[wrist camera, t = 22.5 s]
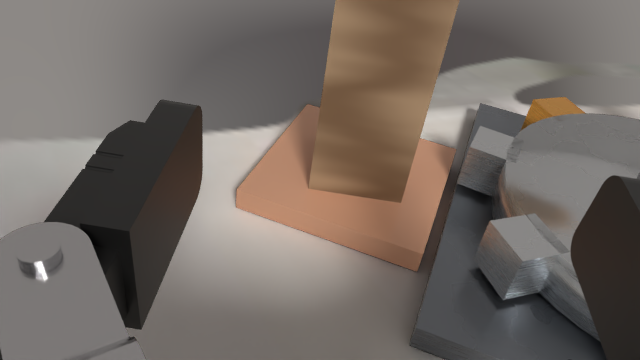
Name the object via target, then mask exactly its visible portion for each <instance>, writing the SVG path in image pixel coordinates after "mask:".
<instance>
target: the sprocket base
mask: <svg viewBox="0 0 640 360" xmlns="http://www.w3.org/2000/svg"><path fill="white" fill-rule="evenodd" d="M525 119H526V116H523V115H520V114H516V113H513V112H509V111H506V110H502V109H499V108H495V107H492V106H488V105H485V104H481V103H480V106H479V109H478V112H477V115H476V117H475V121H474V124H473V128H472V131H471V134H470V138H469V141H468V145H467V148H466V152H465V155H464V159H463V162H462V165H461V169H460V172H459V175H460V173H461V170H462V167H463V164H464V161H465V159H466V156H467V153H468V150H469V148H470V145H471V143H472V141H473V139H474V137H475V135H476V133H477V131H478V129H479V127H480V126H482V127H485V128H488V129H491V130H494V131H497V132H500V133H503V134H506V135H508V136H511V137H514V138H515V137H516V136H517V135H518V134H519V132H520V130H521V128H522V126H523V123H524V121H525ZM458 178H459V176H458ZM457 181H458V179H457ZM491 220H493V216H492V211H491V196H489V195H487V194H484V193H481V192H479V191H476V190H473V189H471V188H468V187H465V186H463V185H460V184H458V183H456V186H455V190H454V193H453V196H452V200H451V203H450V207H449V210H448V214H447V217H446V221H445V224H444V227H443V231H442V234H441V238H440V241H439V245H438V248H437V252H436V255H435V258H434V262H433V265H432V269H431V272H430V276H429V279H428V283H427V286H426V289H425V293H424V296H423V300H422V303H421V307H420V310H419V314H418V317H417V320H416V324H415V327H414V331H413V334H412V338H411V341H410V346H413V347H415V348H418V349H420V350H423V351H425V352H428V353H431V354H433V355H436V356H438V357H441V358H444V359H446V360H607V358H606V355H605V353H604V350H603V347H602V344H601V342H600V341H599V340H597V339H596V338H594V337H593V336H591V335H590V334H588V333H587V332H585V331H584V330H583V329H581V328H580V327H578V326H577V325H576V324H575V323H573V322H572V321H571V320H570V319H568V318H567V317H566V316H565V315H563V314H562V313H561V312H560V311H558V310H557V309H556V308H555V307H554V306H553V305H552V304H551V303H550V302H549V301H548V300H547V299H545V298H544V297H543V296H542V295H541V294H540V293H539V292H537V293H533V294H528V295H524V296H519V297H515V298H510V299H505V300H502V298H501V297H500V296H499V294H498V293H497V291H496V290H495V289H494V287H493V286H492V284H491V283H490V282H489V280H488V279H487V278H486V276H485V275H484V273H483V272H482V271H481V269H480V268H479V266H478V265H477V264H476V262H475V261H474V260H473V258H474V256H475V254H476V252H477V249H478V247H479V245H480V242H481V240H482V238H483V235H484V233H485V231H486V228H487V226H488V224H489V222H490V221H491Z"/></svg>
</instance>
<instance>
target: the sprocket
mask: <svg viewBox="0 0 640 360" xmlns="http://www.w3.org/2000/svg"><path fill="white" fill-rule="evenodd" d="M613 175H616V176H623V177H629V178H635V179H640V120H638V119H633V118H627V117H621V116H614V115H605V114H587V113H585V112H583V111H582V110H581V109H580V108H578V107H577V106H576V105H575V104H573V103H572V102H571V101H569V100H568V99H567V98H566V97H559V98H546V99H534V100H533V102H532V105H531V107H530V109H529V111H528V114H527V116H526V119H525V121H524V123H523V126H522V128H521V130H520V132H519V134H518V135H517V136H516V137H515V138H514V137H511V136H508V135H506V134H503V133H500V132H497V131H494V130H491V129H488V128H485V127H482V126H480V127H479V129H478V131H477V133H476V135H475V137H474V139H473V141H472V143H471V145H470V148H469V150H468V153H467V156H466V159H465V161H464V164H463V167H462V170H461V173H460V175H459V178H458V181H457V183H458V184H460V185H463V186H465V187H468V188H471V189H473V190H476V191H479V192H481V193H484V194H487V195H489V196H491V211H492V216H493V220H491V221H490V222H489V224H488V226H487V228H486V231H485V233H484V235H483V238H482V240H481V242H480V245H479V247H478V249H477V252H476V254H475V256H474V258H473V260H474V261H475V262H476V264H477V265H478V266H479V268H480V269H481V271H482V272H483V273H484V275H485V276H486V278H487V279H488V280H489V282H490V283H491V284H492V286H493V287H494V289H495V290H496V291H497V293H498V294H499V296H500V297H501V298H502V300H505V299H510V298H515V297H519V296H524V295H528V294H533V293H537V292H539V293H540V294H541V295H542V296H543V297H544V298H545V299H547V300H548V301H549V302H550V303H551V304H552V305H553V306H554V307H555V308H556V309H557V310H558V311H560V312H561V313H562V314H563V315H565V316H566V317H567V318H568V319H570V320H571V321H572V322H573V323H575V324H576V325H577V326H578V327H580V328H581V329H583V330H584V331H585V332H587V333H588V334H590V335H591V336H593V337H594V338H596V339H597V340H599V341H600V339H599V336H598V333H597V330H596V328H595V325H594V322H593V319H592V317H591V314H590V311H589V308H588V306H587V303H586V300H585V297H584V294H583V292H582V289H581V286H580V283H579V281H578V278H577V275H576V272H575V270H574V267H573V264H572V261H571V253H570V250H571V242H572V238H573V235H574V232H575V230H576V228H577V227H578V225H579V223H580V222H581V220H582V218H583V217H584V215H585V213H586V211H587V210H588V208H589V206H590V205H591V203H592V201H593V200H594V198H595V196H596V194H597V193H598V191H599V189H600V188H601V186H602V184H603V183H604V181H605V180H606V179H607V178H609V177H610V176H613ZM600 342H601V341H600Z"/></svg>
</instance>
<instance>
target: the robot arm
mask: <svg viewBox="0 0 640 360" xmlns="http://www.w3.org/2000/svg"><path fill="white" fill-rule="evenodd" d="M201 180H202V110H201V107H200V106H197V105H191V104H185V103H179V102H173V101H167V100H160V101H159V103H158V104H157V105H156V107H155V108H154V110H153V111H152V113H151V114H150V116H149V118H148V119H147V121H146V122H145V123H143V122H137V121H131V120H130V121H128V122H127V123H125V124H123V125H122V126H120V127H119V128H117V129H115V130H114V131H112V132H110V133H109V134H108V135H107V136H106V138H105V139H104V140H103V142H102V143H101V144H100V146H99V147H98V149H97V150H96V154H93V155H92V157H91V158H90V160H89V161H88V162H87V164H86V167H85V169H82V171H81V172H80V173H79V175H78V176H77V177H76V179H75V180H74V182H73V183H72V184H71V186H70V187H69V188H68V190H67V191H66V192H65V194H64V195H63V197H62V198H61V199H60V201H59V202H58V203H57V205H56V206H55V208H54V209H53V210H52V212H51V213H50V214H49V216H48V217H47V219H46V220H45V221H44V222H43V223H36V224H31V225H28V226H25V227H22V228H19V229H17V230H15V231H13V232H11V233H9V234H7V235H6V236H4V237H3V238H2V239H0V360H146V359H145V356H144V354H143V352H142V349H141V347H140V345H139V343H138V341H137V340H136V338H135V337H131V338H130V337H129V335H128V333H127V330H126V328H125V327H128V328H134V329H140V330H141V329H142V327H143V325H144V322H145V320H146V317H147V315H148V313H149V310H150V308H151V306H152V303H153V301H154V299H155V296H156V294H157V292H158V289H159V287H160V285H161V282H162V280H163V277H164V275H165V273H166V270H167V268H168V266H169V263H170V261H171V259H172V256H173V254H174V252H175V249H176V247H177V245H178V242H179V240H180V237H181V235H182V233H183V230H184V228H185V226H186V223H187V221H188V219H189V216H190V214H191V212H192V209H193V207H194V205H195V202H196V200H197V197H198V194H199V190H200V185H201ZM570 253H571V261H572V264H573V267H574V270H575V272H576V275H577V278H578V281H579V283H580V286H581V289H582V292H583V294H584V297H585V300H586V303H587V306H588V308H589V311H590V314H591V317H592V319H593V322H594V325H595V328H596V330H597V333H598V336H599V339H600V341H601V344H602V347H603V350H604V353H605V355H606V358H607V360H640V179H635V178H629V177H623V176H616V175H613V176H610V177H609V178H607V179H606V180H605V181H604V183H603V184H602V186H601V188H600V189H599V191H598V193H597V194H596V196H595V198H594V200H593V201H592V203H591V205H590V206H589V208H588V210H587V211H586V213H585V215H584V217H583V218H582V220H581V222H580V223H579V225H578V227H577V228H576V230H575V232H574V235H573V238H572V242H571V250H570Z"/></svg>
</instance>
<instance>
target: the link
mask: <svg viewBox="0 0 640 360" xmlns="http://www.w3.org/2000/svg"><path fill="white" fill-rule="evenodd" d="M458 3H459V0H336V2H335V8H334V16H333V22H332V29H331V37H330V43H329V50H328V57H327V64H326V71H325V78H324V84H323V91H322V98H321V105H320V112H319V119H318V126H317V132H316V139H315V146H314V153H313V160H312V167H311V174H310V181H309V188H308V189H314V190H320V191H327V192H333V193H339V194H346V195H352V196H359V197H365V198H372V199H378V200H384V201H391V202H397V203H401V201H402V198H403V195H404V191H405V188H406V184H407V181H408V177H409V174H410V170H411V167H412V163H413V160H414V156H415V153H416V149H417V146H418V142H419V139H420V135H421V132H422V128H423V125H424V122H425V118H426V115H427V111H428V108H429V104H430V101H431V97H432V94H433V90H434V87H435V83H436V80H437V76H438V73H439V69H440V66H441V62H442V59H443V56H444V52H445V49H446V45H447V42H448V38H449V35H450V31H451V28H452V24H453V21H454V17H455V14H456V10H457V7H458Z"/></svg>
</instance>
